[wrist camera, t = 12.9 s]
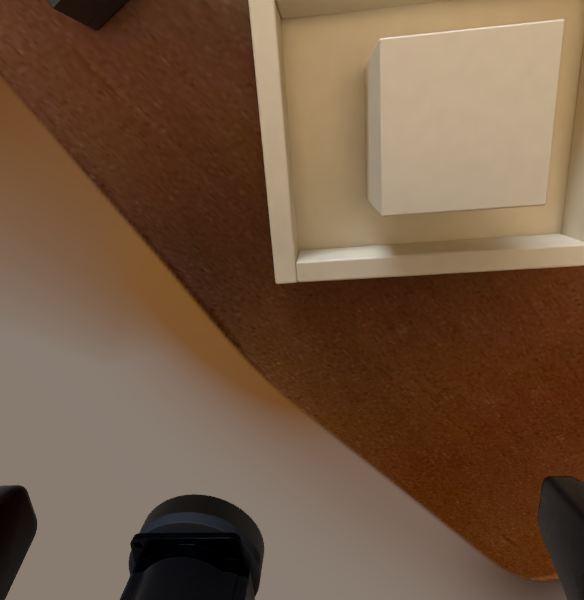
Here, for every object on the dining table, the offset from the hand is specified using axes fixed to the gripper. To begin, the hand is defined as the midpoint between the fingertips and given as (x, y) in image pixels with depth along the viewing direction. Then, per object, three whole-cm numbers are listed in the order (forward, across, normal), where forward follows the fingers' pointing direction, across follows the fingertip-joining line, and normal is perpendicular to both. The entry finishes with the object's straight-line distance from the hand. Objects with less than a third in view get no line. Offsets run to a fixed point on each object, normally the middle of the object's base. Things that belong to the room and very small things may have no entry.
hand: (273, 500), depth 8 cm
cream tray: (+12, -5, -6) cm, 14 cm away
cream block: (+11, -5, -6) cm, 14 cm away
